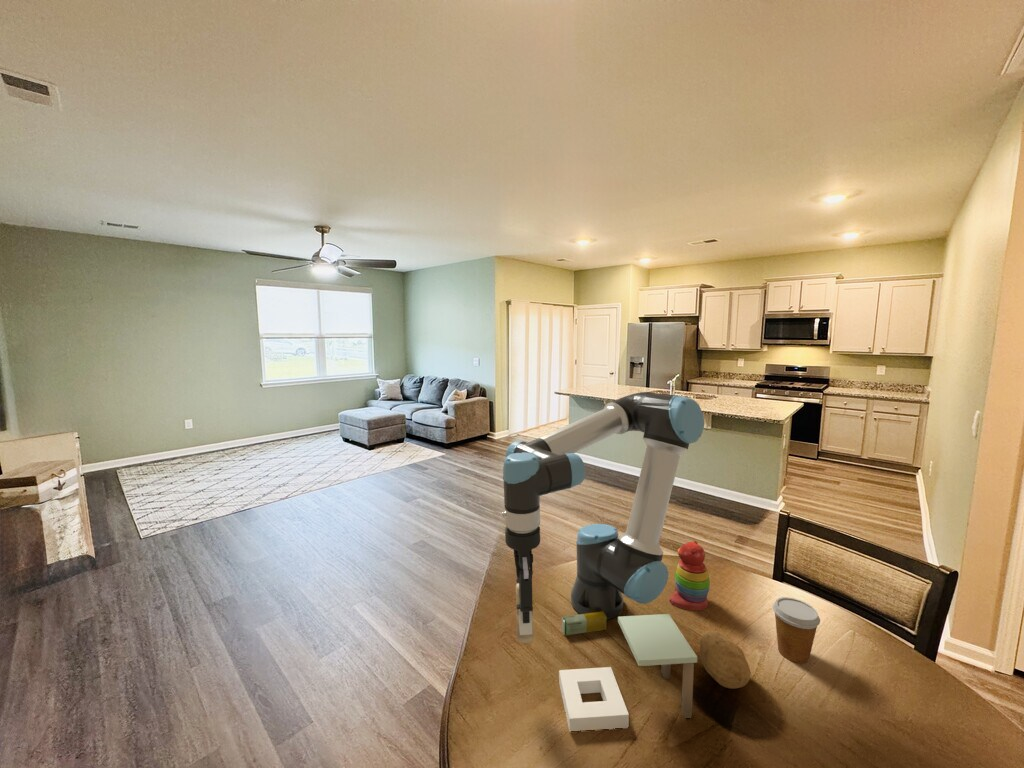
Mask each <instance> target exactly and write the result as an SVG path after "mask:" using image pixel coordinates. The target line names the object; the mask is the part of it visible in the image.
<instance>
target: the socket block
mask: <svg viewBox="0 0 1024 768" xmlns="http://www.w3.org/2000/svg"><path fill="white" fill-rule="evenodd" d="M558 683H559V688H560V693H561V697H562V698H561V699H562V702H563V707H564V712H566V713H565V716H566V717H567V718H566V717H565V718H566V721H567V726H568V727H567V728H568V731H570V732H569V733H572V732H571V731H578V730H579V731H580V730H586V729H587V730H588V729H609V730H616V729H615V728H623V729H629V728H628V727H630V726H629V722H630V719H629V718H630V714H629V711H628V709H627V705H626V703H625V700H624V698H623V696H622V692H621V691H620V688H619V685H618V683H617V680H616V677H615V675H614V672H613V669H612V667H611V666H606V667H604V666H603V667H592V668H591V667H590V668H575V669H574V668H573V669H560V670H558ZM599 693H600V696H601V699H602V700H601V701H584V702H583V699H582V694H599ZM613 728H614V729H613Z"/></svg>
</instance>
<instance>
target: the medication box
mask: <svg viewBox="0 0 1024 768" xmlns="http://www.w3.org/2000/svg"><path fill="white" fill-rule="evenodd" d="M607 620H608V619H607V617H606V615H605V613H604V612H603V611H602V612H594V613H587V614H580V613H578V614H574V615H565V616H561V631H562V634H563V635H564V636H571V635H577V634H584V633H590V632H597V631H604V630H607Z"/></svg>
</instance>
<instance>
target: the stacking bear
mask: <svg viewBox="0 0 1024 768" xmlns="http://www.w3.org/2000/svg"><path fill="white" fill-rule="evenodd" d="M676 551H677V555H678V557H679V561H678V564H677V567H676V570H675V576H674V578H675V580H674V581H675V587H674V591H675V592H674V593H672V594H671V595H670V596H669V600H668V601H669V603H670V605H673V606H675V607H677V608H679V609H684V610H689V611H702V610H703V611H704V610H706V609H707V607H708V606H709V600H708V594H709V592H710V585H711V581H710V577H709V571H708V568H707V566H706V565H705V563H704V561H705V558H706V552H705V550H704V548H703V547H702V546H701V545H700V544H699V543H698V542H697V540H695V539H694V540H693V542H692V541H691V542H689V541H688V542H686V543H684V544H683V545H682V546H681V547H679V548H678V549H677V550H676Z"/></svg>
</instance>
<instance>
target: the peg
mask: <svg viewBox="0 0 1024 768" xmlns="http://www.w3.org/2000/svg"><path fill="white" fill-rule="evenodd" d="M519 604H520V597H519V583H518V584H517V583H516V584H515V605H519ZM532 606H533V600H532ZM515 609H516V610H515V613H516V614H515V615H516V639H517V641H518V642H519V643H522V644H529V643H530V642H532V641H533V639H534V611H532V634H529V635H520V627H519V609H517V608H516V607H515Z"/></svg>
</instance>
